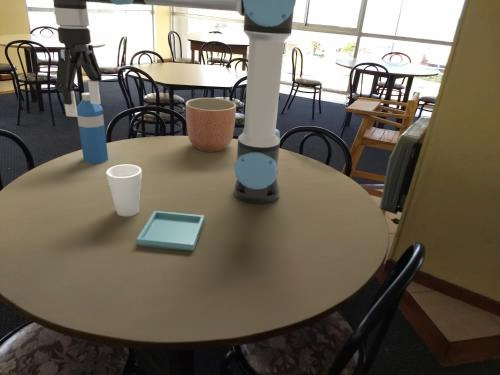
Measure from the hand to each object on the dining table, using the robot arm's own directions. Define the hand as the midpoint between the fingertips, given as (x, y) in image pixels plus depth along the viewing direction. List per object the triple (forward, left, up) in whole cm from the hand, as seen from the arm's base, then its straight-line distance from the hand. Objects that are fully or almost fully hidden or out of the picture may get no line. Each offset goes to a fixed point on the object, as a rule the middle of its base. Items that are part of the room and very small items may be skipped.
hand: (84, 109), depth 104 cm
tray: (-28, +15, -28) cm, 42 cm away
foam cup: (-12, +6, -28) cm, 31 cm away
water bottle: (+14, -29, -28) cm, 43 cm away
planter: (-26, -53, -28) cm, 66 cm away
